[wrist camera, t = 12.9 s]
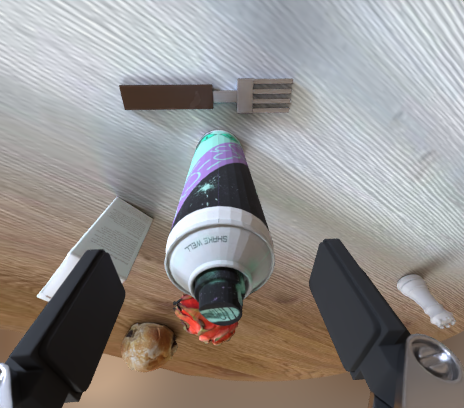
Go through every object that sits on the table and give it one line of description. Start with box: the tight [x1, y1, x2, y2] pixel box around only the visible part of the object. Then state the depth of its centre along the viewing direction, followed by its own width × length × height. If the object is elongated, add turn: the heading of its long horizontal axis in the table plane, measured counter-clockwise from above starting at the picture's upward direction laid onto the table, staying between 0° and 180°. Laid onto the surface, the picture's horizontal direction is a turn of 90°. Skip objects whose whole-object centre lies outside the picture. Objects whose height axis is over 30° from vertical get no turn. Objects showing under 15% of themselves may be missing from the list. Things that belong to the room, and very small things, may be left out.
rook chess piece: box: [397, 274, 456, 329], centre depth 36 cm, size 4×4×8 cm
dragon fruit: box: [173, 294, 238, 346], centre depth 35 cm, size 8×8×12 cm
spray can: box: [165, 130, 275, 326], centre depth 17 cm, size 6×6×20 cm
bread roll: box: [121, 323, 178, 372], centre depth 42 cm, size 10×10×8 cm
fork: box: [119, 78, 293, 114], centre depth 22 cm, size 17×3×1 cm, turn 90°
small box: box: [37, 197, 153, 302], centre depth 25 cm, size 8×6×10 cm
